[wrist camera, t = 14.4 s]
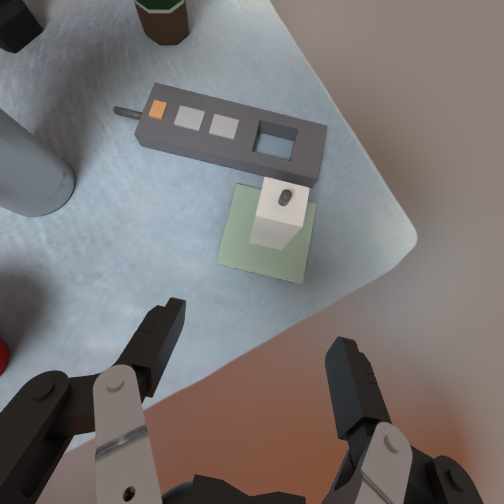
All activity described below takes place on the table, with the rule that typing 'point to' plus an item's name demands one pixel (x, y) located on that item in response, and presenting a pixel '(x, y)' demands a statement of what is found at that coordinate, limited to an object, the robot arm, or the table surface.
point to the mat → (257, 256)
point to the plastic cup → (3, 356)
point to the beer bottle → (163, 20)
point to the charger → (279, 213)
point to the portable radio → (16, 25)
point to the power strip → (227, 134)
